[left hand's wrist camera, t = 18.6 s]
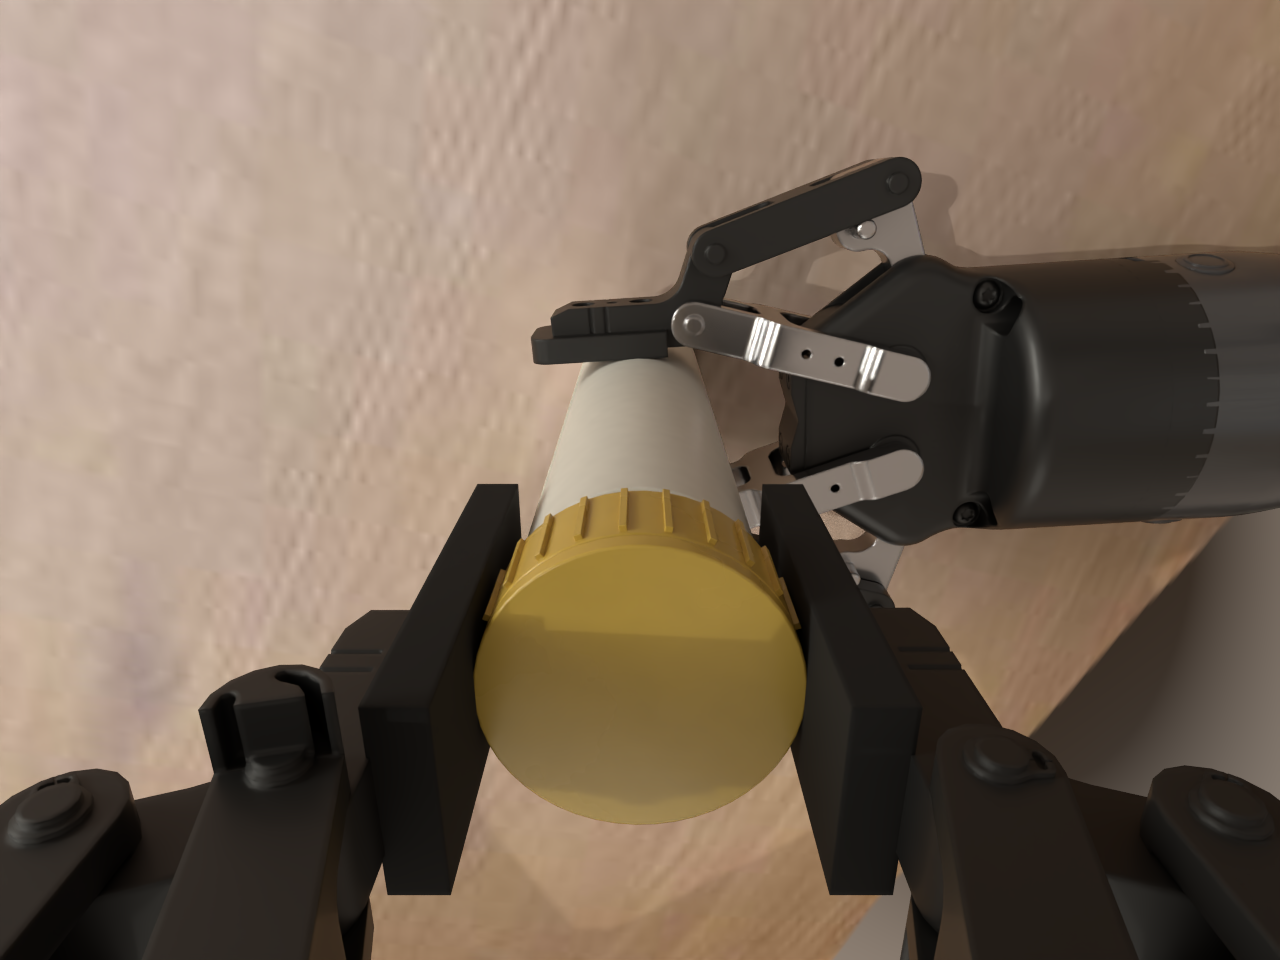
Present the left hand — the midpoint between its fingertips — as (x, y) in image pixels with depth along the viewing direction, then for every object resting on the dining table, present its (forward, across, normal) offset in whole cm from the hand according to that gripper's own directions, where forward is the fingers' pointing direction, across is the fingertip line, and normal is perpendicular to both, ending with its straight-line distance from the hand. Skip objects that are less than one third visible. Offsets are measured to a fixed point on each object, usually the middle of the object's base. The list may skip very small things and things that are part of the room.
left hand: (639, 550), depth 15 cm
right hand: (+8, -3, 0) cm, 9 cm away
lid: (-4, 0, 0) cm, 4 cm away
